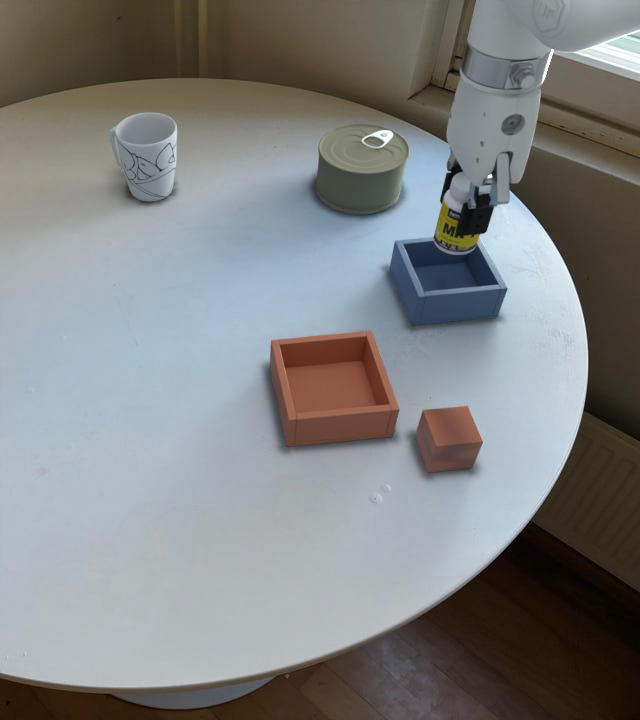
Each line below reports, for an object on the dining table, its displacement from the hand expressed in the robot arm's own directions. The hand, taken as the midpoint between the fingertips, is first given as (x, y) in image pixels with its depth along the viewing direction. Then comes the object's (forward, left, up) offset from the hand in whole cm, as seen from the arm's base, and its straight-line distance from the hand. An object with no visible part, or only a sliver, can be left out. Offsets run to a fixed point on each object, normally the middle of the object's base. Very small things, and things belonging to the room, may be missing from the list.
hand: (462, 216), depth 85 cm
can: (+5, -22, -12) cm, 25 cm away
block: (+7, +23, -11) cm, 27 cm away
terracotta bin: (+17, +15, -11) cm, 25 cm away
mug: (+35, -28, -12) cm, 46 cm away
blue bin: (0, 0, -11) cm, 11 cm away
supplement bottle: (0, 0, -4) cm, 4 cm away
